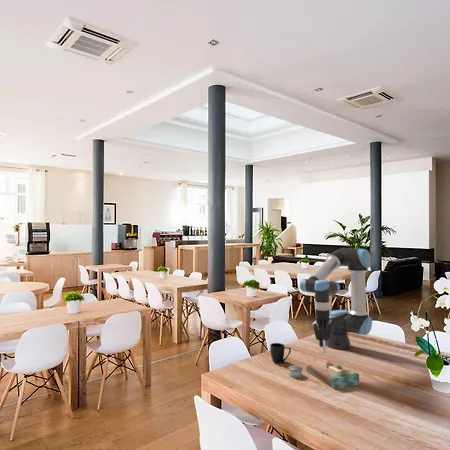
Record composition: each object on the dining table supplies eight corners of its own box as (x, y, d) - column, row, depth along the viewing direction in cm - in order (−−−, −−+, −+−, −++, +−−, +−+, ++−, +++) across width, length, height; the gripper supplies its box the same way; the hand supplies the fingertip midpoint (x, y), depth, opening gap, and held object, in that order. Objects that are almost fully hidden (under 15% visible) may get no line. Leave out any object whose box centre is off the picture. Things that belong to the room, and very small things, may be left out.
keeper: (341, 378, 189) (341, 363, 189) (350, 383, 182) (350, 368, 183) (328, 380, 186) (328, 365, 186) (337, 385, 180) (337, 370, 180)
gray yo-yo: (298, 372, 198) (297, 364, 198) (305, 377, 191) (305, 369, 191) (286, 374, 195) (286, 366, 195) (293, 379, 188) (293, 371, 189)
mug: (288, 366, 206) (288, 349, 206) (268, 362, 212) (268, 346, 212) (292, 361, 213) (292, 345, 214) (273, 358, 219) (273, 342, 219)
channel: (329, 367, 204) (329, 358, 204) (359, 384, 182) (359, 374, 182) (306, 371, 199) (306, 361, 199) (334, 389, 176) (334, 378, 176)
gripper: (328, 306, 204) (328, 348, 204) (308, 308, 199) (309, 351, 199) (336, 309, 197) (337, 352, 197) (316, 312, 192) (317, 356, 192)
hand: (323, 352), depth 198 cm, fingers closed
